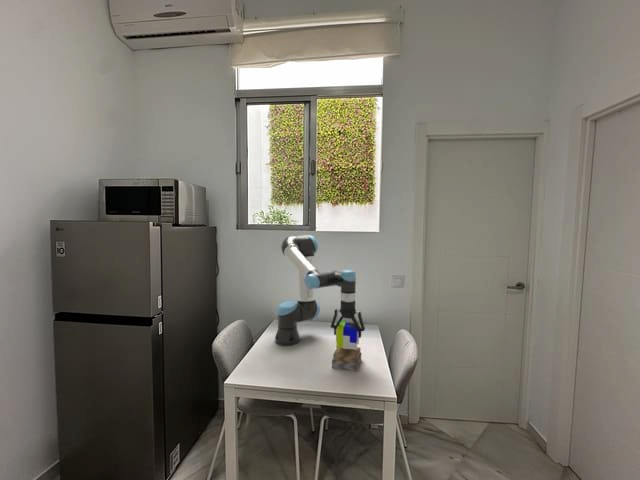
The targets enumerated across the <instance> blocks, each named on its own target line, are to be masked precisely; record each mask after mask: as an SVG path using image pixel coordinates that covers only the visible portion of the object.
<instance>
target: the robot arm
mask: <svg viewBox="0 0 640 480" xmlns="http://www.w3.org/2000/svg"><path fill="white" fill-rule="evenodd" d="M318 246H319V245H318V241H317V239H316V237H315V236H314V235H308V234H305V235H289V236H287V237H286V238H284V239H283V241H282V243H281V246H280V249H281V253H282V254H283V256H284V258H286V259H289V260H290V262H291V263H292V264H293V265H294V267H296V269H297V270H298V281H299V283H298V285H299V286H298V287H299V296H298V298H297V302H296V301H294V300H293V301H291V300H290V301H289V300H288V301H285V302H281V304H279V305H278V308H277V331H276V334H275V337H274V342H275V343H276V344H277V345H280V346H293V345H297V344H299V343H300V341H301V337H300V332H299V329H298V323H301V322H306V321H312V320H315V319H316V320H317V318H318V317H319V315H320V311H321V310H320V309H321V307H320V305H319V303H320V302H318V300H316V297H315V296H314V290H317V289H321V288H327V287H335V286H336V287H340V308H339V309H338V308H335V310H334V311H333V312H334V315H333V318H332V321H331V324H330V328H332V329H333V334H334V336H335V342H336V343H337V327H338V325H339V324H340V322H343V321H342V320H343V319H349V320H350V319H351V321H352V323H354V324H355V326H356V328H357V329H358V331H357V345H359V344H360V339H361V338H362V332H365V331H366V330H365V329H366V327H365V323H364V320H363V317H362V311H361V310H359V311H358V310H356V301H355V300H356V289H357V286H356V285H357V283H356V282H357V277H356V271H355V270H353V269H342V270H341V271H338V270H333V269H332V270H329V271H327V272H319V271H318V269H317V268H316V267H315V266H314V265H313V258H314V257H315V253H317V251H318V248H319V247H318ZM338 314H340V315H341V316H340V318H339V319H338V321H337V323H336V320H337V317H338ZM355 315H356V316H357V317H358V321H359V322H358V321H357V318H356V316H355ZM335 323H336V324H335Z"/></svg>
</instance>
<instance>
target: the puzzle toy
mask: <svg viewBox="0 0 640 480" xmlns="http://www.w3.org/2000/svg"><path fill="white" fill-rule="evenodd" d="M357 331H358V329H357V328H356V326H355V324H354V322H344V321H341V322H340V324H339V325H338V327H337V342H336V345H335V346H336V348H335V349H337V348H344V349H355V350H356V348H357V347H358V344H357Z"/></svg>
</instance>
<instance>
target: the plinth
mask: <svg viewBox="0 0 640 480" xmlns="http://www.w3.org/2000/svg"><path fill="white" fill-rule="evenodd" d="M361 362H362V352H361V347H359V346H357V348H356V350H355V349H344V348H335V351H334V352H333V356H332V360H331V368H332V369H337V370H345V371H351V372H356V373H357V372H358V371H359V369H360V365H361Z"/></svg>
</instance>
